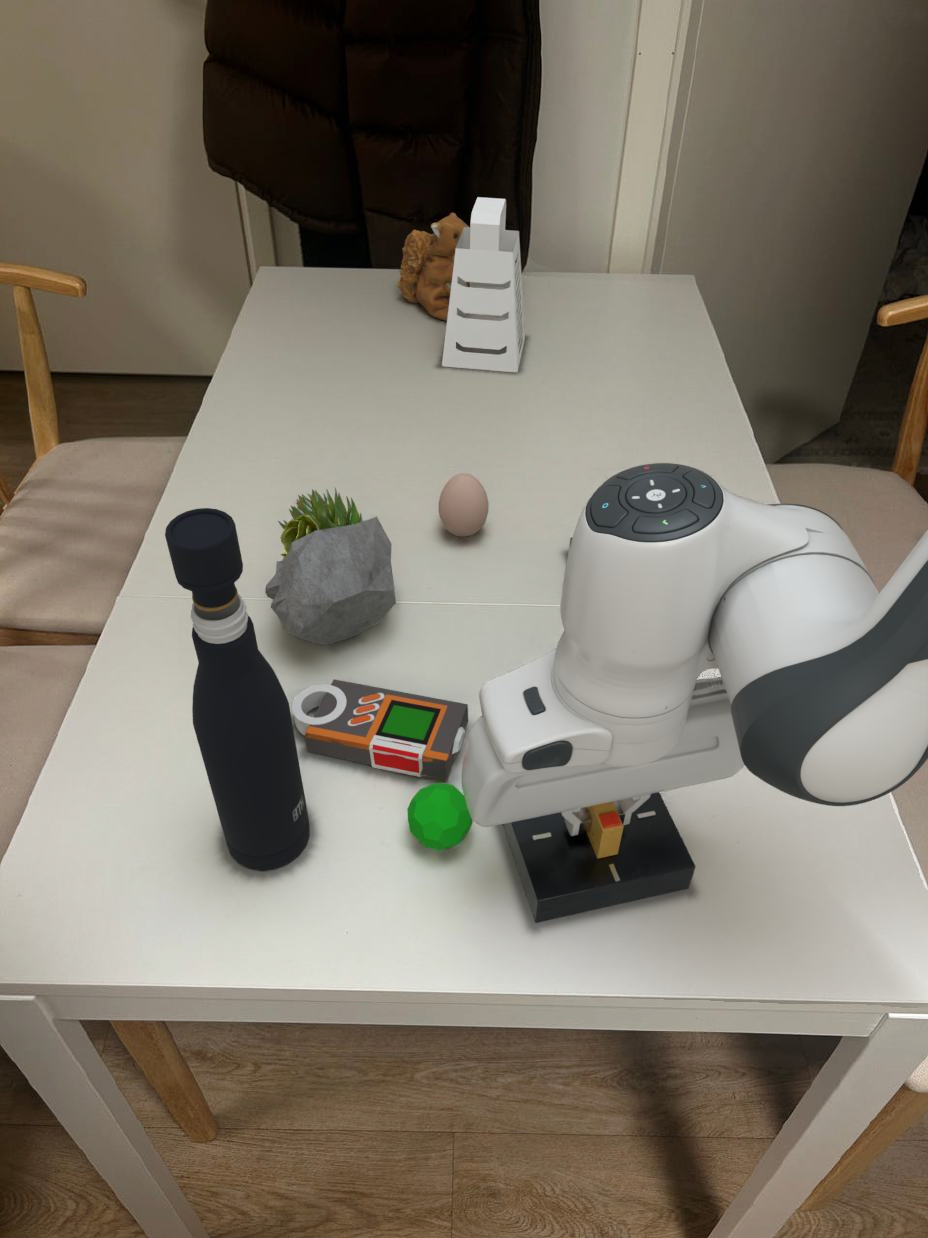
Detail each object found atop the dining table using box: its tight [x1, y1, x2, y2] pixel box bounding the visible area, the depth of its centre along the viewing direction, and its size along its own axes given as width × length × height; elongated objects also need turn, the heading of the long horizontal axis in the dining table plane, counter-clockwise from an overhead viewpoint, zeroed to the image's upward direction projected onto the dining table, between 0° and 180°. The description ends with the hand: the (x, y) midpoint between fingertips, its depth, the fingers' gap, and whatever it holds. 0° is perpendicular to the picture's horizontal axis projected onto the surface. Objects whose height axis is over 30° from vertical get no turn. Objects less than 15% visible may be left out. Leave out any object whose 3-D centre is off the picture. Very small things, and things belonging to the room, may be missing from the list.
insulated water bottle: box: [164, 507, 311, 872], centre depth 62 cm, size 6×6×30 cm
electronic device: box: [291, 679, 469, 781], centre depth 79 cm, size 7×3×15 cm
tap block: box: [502, 792, 697, 924], centre depth 71 cm, size 12×10×3 cm
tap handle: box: [587, 802, 624, 859], centre depth 69 cm, size 6×2×4 cm, turn 14°
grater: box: [441, 196, 526, 373], centre depth 125 cm, size 10×10×20 cm
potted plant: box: [264, 487, 397, 646], centre depth 88 cm, size 12×13×15 cm
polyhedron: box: [407, 782, 473, 851], centre depth 71 cm, size 5×5×5 cm
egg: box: [437, 472, 489, 538], centre depth 99 cm, size 5×5×7 cm
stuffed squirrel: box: [396, 212, 471, 322], centre depth 139 cm, size 10×14×13 cm
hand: (596, 823), depth 70 cm, fingers closed, pressing on tap handle
